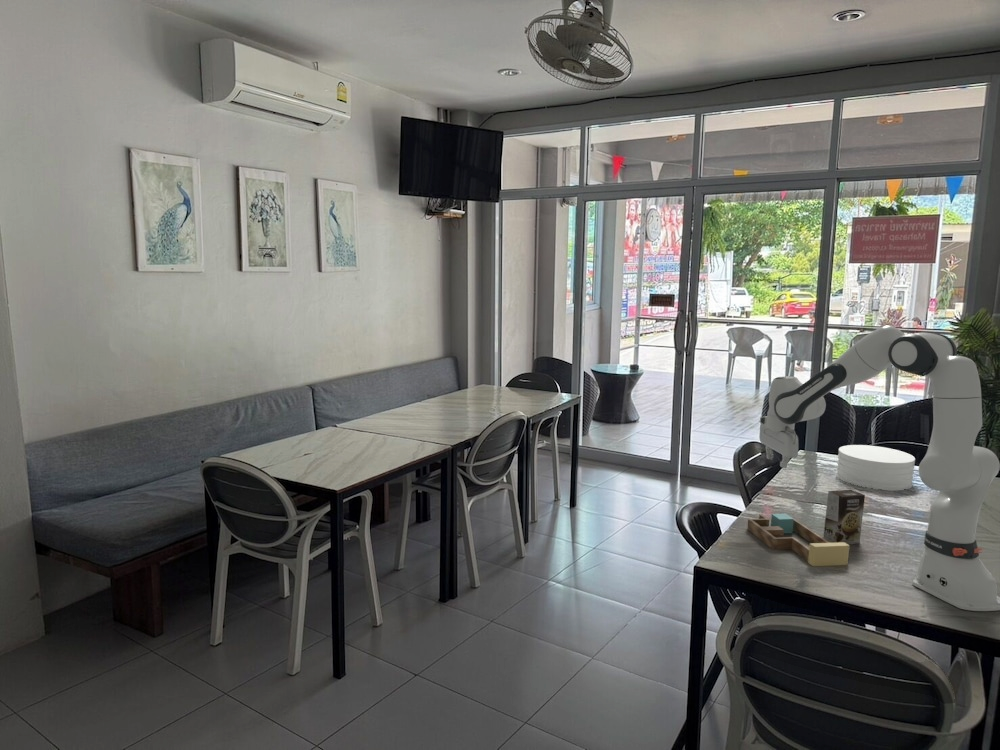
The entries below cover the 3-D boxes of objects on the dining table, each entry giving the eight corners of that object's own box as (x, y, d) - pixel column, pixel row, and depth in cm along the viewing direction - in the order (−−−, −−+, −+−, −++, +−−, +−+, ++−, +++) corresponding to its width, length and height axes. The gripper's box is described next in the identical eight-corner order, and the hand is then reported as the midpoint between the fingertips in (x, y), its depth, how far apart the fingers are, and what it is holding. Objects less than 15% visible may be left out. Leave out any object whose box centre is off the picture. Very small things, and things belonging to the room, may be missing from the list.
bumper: (847, 564, 206) (849, 545, 205) (812, 566, 204) (814, 546, 203) (842, 561, 208) (844, 542, 207) (807, 562, 207) (809, 543, 206)
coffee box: (836, 546, 220) (841, 496, 217) (822, 538, 226) (827, 490, 223) (860, 543, 222) (866, 494, 220) (845, 535, 228) (850, 488, 226)
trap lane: (840, 561, 208) (841, 550, 207) (790, 563, 206) (791, 552, 205) (786, 523, 238) (786, 513, 238) (741, 524, 236) (742, 514, 236)
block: (792, 533, 230) (793, 518, 229) (778, 533, 229) (779, 519, 228) (784, 527, 235) (785, 513, 234) (770, 528, 234) (771, 513, 233)
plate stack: (821, 472, 300) (823, 446, 298) (872, 468, 308) (875, 443, 306) (873, 493, 273) (876, 465, 271) (928, 487, 282) (931, 460, 280)
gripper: (805, 431, 224) (801, 472, 226) (774, 416, 244) (771, 454, 246) (787, 431, 223) (782, 472, 226) (757, 416, 243) (754, 454, 246)
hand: (776, 463), depth 236 cm, fingers open, 8 cm apart
